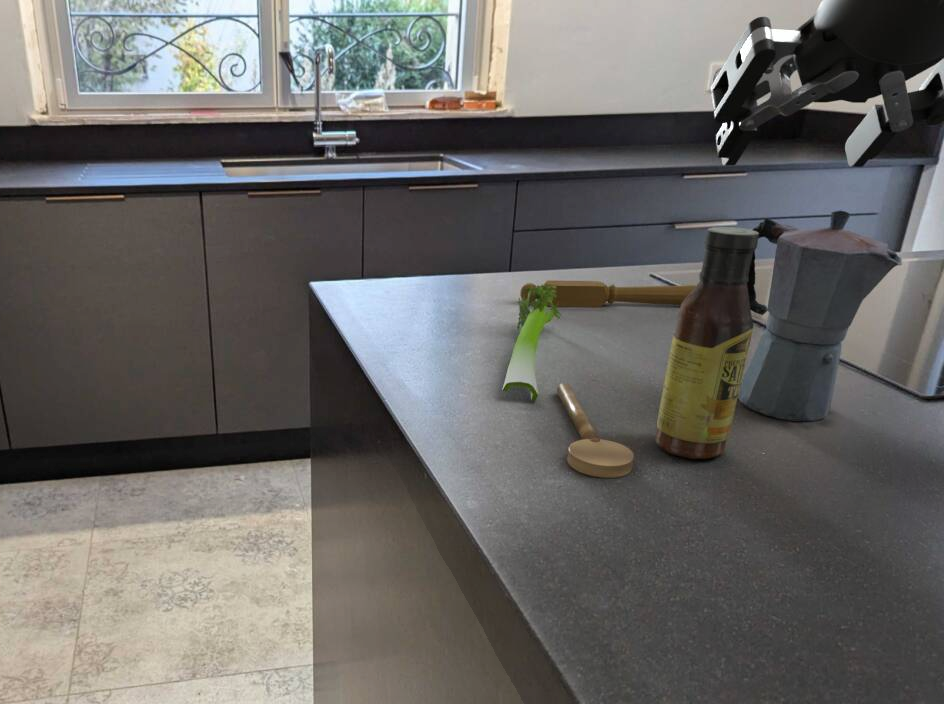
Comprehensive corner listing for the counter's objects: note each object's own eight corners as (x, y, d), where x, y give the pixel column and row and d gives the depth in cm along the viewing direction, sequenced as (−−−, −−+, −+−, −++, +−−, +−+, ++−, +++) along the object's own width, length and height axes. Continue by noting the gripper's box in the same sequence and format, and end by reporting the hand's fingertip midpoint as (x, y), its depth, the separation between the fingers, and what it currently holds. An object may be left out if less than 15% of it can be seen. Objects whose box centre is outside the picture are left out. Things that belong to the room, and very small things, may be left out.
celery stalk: (483, 412, 88) (512, 315, 113) (548, 427, 87) (562, 326, 112) (495, 361, 85) (522, 273, 110) (563, 376, 84) (574, 283, 109)
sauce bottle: (717, 469, 73) (769, 241, 64) (645, 452, 76) (685, 232, 67) (730, 442, 78) (779, 228, 69) (662, 428, 81) (701, 221, 72)
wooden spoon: (535, 392, 89) (536, 380, 88) (587, 393, 89) (589, 381, 88) (574, 477, 71) (576, 462, 70) (639, 478, 71) (642, 464, 70)
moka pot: (829, 441, 78) (891, 226, 69) (684, 392, 89) (722, 202, 81) (876, 418, 83) (938, 215, 74) (733, 375, 94) (773, 194, 86)
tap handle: (732, 288, 118) (523, 285, 119) (728, 309, 120) (521, 305, 120) (724, 283, 121) (520, 280, 122) (719, 303, 123) (517, 300, 123)
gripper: (812, -5, 40) (690, 201, 56) (1111, -4, 40) (905, 203, 55) (789, -114, 43) (678, 111, 58) (1070, -115, 42) (884, 113, 58)
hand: (789, 156), depth 57 cm, fingers open, 8 cm apart
